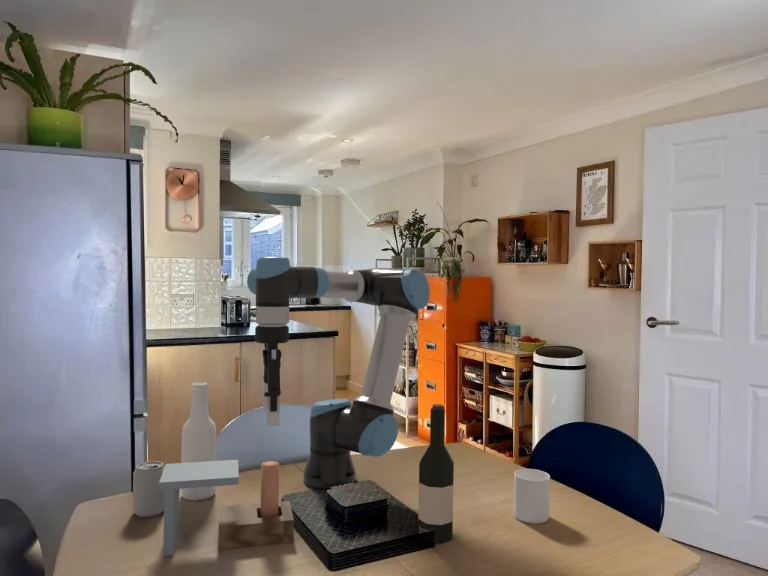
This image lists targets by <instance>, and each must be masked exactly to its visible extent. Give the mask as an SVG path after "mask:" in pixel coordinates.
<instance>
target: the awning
mask: <svg viewBox="0 0 768 576" xmlns="http://www.w3.org/2000/svg"><path fill="white" fill-rule="evenodd" d="M164 467H165V468H164V470H163V473H162V476H161V479H160V481H159V490H164V510H163V544H162V545H163V549H162V551H163V555H162V557H173V556H174V554H175V550H176V545H177V541H178V537H179V533H180V492H181V489H183V488H197V487H211V486H216V487H222V486H237V485H239V480H240V479H239V473H240V472H239V459H225V460H216V461H206V462H190V463H181V462H178V463H165V464H164Z"/></svg>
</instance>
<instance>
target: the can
mask: <svg viewBox="0 0 768 576" xmlns="http://www.w3.org/2000/svg"><path fill="white" fill-rule="evenodd" d="M135 468H136V469H135V470H134V471H133V473H132V513H133V514H134V515H136V516H137V517H139V518H144V519H145V518H152V517H156V516H159V515H161V514H162V513H163V512H164V490H159V481H160V479H161V476H162V473H163V470H164V468H165V465H164V463H163V462H162V461H159V460H151V461H149V460H148V461H145V462H140V463H139V464H137V465H136V467H135Z"/></svg>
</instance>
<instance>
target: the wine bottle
mask: <svg viewBox="0 0 768 576" xmlns="http://www.w3.org/2000/svg"><path fill="white" fill-rule="evenodd" d="M445 409H446V408H444V405H443V404H441V403H435V404H432V407H430V423H429V424H430V425H429V426H430V428H429V429H430V430H429V432H430V433H429V446H428V447H427V448H426V450H425V452H424V454H423V455H422V457H421V459H420V461H419V464H418V510H417V511H418V513H417V517H418V518H417V527H418V526H420V527H421V528H423V529H426V530H433V531H435V533H434V543H433V544H444V543H447V542H450V541H452V540H453V529H454V528H453V527H454V525H453V519H454V518H453V517H454V470H455V461H454V460H453V458H452V456H451V455H450V453H449V451H448V449H447V447H446V445H445V421H446V417H445V416H446V415H445V414H446V413H445V412H446V410H445Z"/></svg>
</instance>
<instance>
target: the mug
mask: <svg viewBox="0 0 768 576" xmlns="http://www.w3.org/2000/svg"><path fill="white" fill-rule="evenodd" d="M550 475H551V474H549V473H548V472H545V471H543V470H540V469H535V468H520V469H518V470H517V469H516V470H515V471H514V477H513V478H514V479H513V480H514V481H513V515H514V517H515V518H516V519H517V520H519V521H521V522H524V523H527V524H535V525H537V524H538V525H539V524H543V523H547V521H548V520H549V518H550V502H551V501H550V500H551V499H550V497H551V496H550V491H551V476H550Z"/></svg>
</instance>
